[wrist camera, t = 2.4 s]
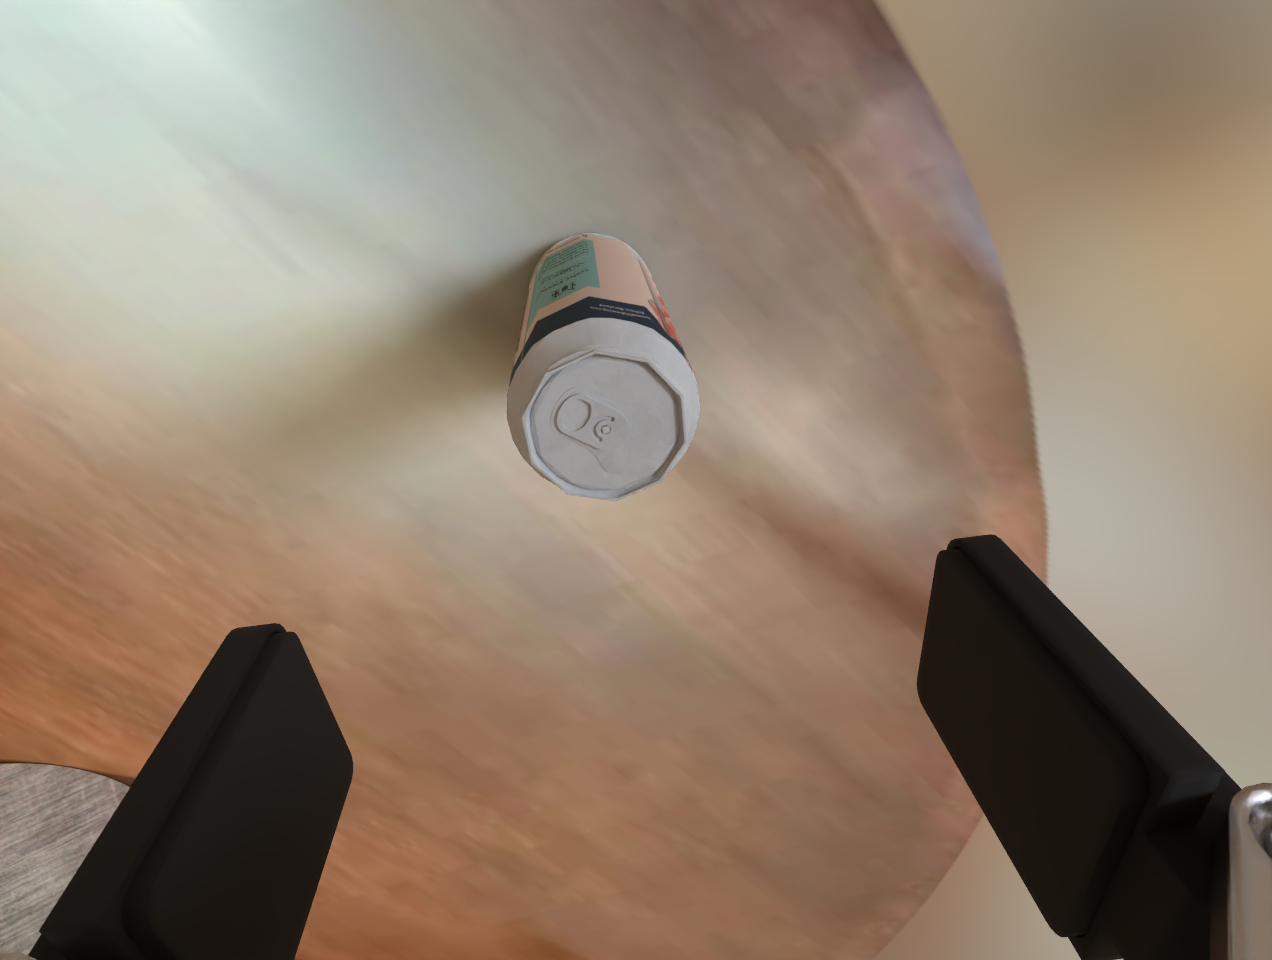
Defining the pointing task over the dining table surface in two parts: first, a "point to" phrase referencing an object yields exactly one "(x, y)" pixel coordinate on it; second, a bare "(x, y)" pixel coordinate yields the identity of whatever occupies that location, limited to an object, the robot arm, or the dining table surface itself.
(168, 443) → the dining table surface
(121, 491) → the dining table surface
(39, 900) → the disc
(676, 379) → the beer can
